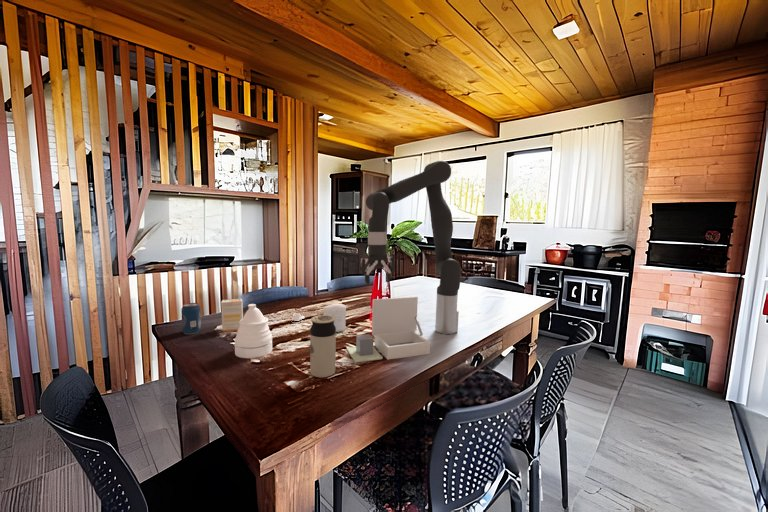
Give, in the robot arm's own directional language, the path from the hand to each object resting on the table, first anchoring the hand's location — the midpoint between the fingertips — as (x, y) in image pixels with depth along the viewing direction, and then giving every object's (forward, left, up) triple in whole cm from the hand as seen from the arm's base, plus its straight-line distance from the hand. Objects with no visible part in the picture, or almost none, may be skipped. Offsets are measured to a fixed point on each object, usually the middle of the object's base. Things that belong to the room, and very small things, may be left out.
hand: (377, 283), depth 133 cm
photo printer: (+14, -16, -24) cm, 32 cm away
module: (+9, +12, -23) cm, 28 cm away
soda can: (+72, -32, -24) cm, 82 cm away
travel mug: (+26, +22, -24) cm, 42 cm away
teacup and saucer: (+25, -35, -25) cm, 50 cm away
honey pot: (+47, -3, -24) cm, 53 cm away
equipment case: (-6, +12, -24) cm, 27 cm away
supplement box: (+56, -31, -24) cm, 68 cm away
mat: (+9, +12, -24) cm, 28 cm away
